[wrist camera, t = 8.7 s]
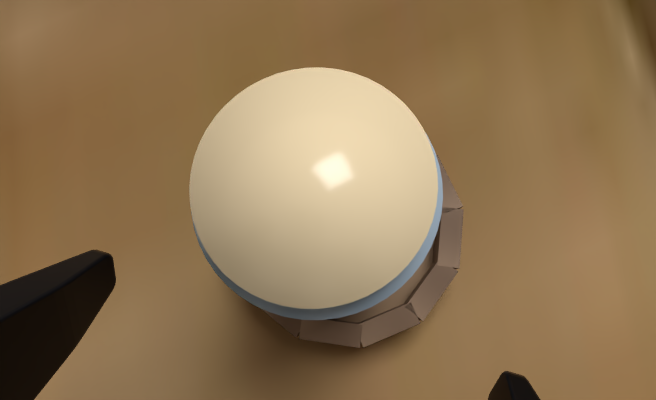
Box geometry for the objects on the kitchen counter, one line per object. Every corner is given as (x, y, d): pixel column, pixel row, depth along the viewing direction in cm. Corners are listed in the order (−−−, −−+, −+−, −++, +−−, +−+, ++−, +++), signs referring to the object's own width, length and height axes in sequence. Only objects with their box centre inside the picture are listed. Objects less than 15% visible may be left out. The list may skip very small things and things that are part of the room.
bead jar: (295, 315, 19) (193, 346, 7) (279, 214, 20) (165, 84, 8) (398, 296, 19) (481, 292, 7) (377, 195, 20) (415, 35, 8)
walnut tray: (223, 324, 20) (209, 326, 18) (260, 121, 22) (251, 104, 20) (443, 356, 19) (453, 363, 17) (459, 143, 21) (470, 127, 19)
